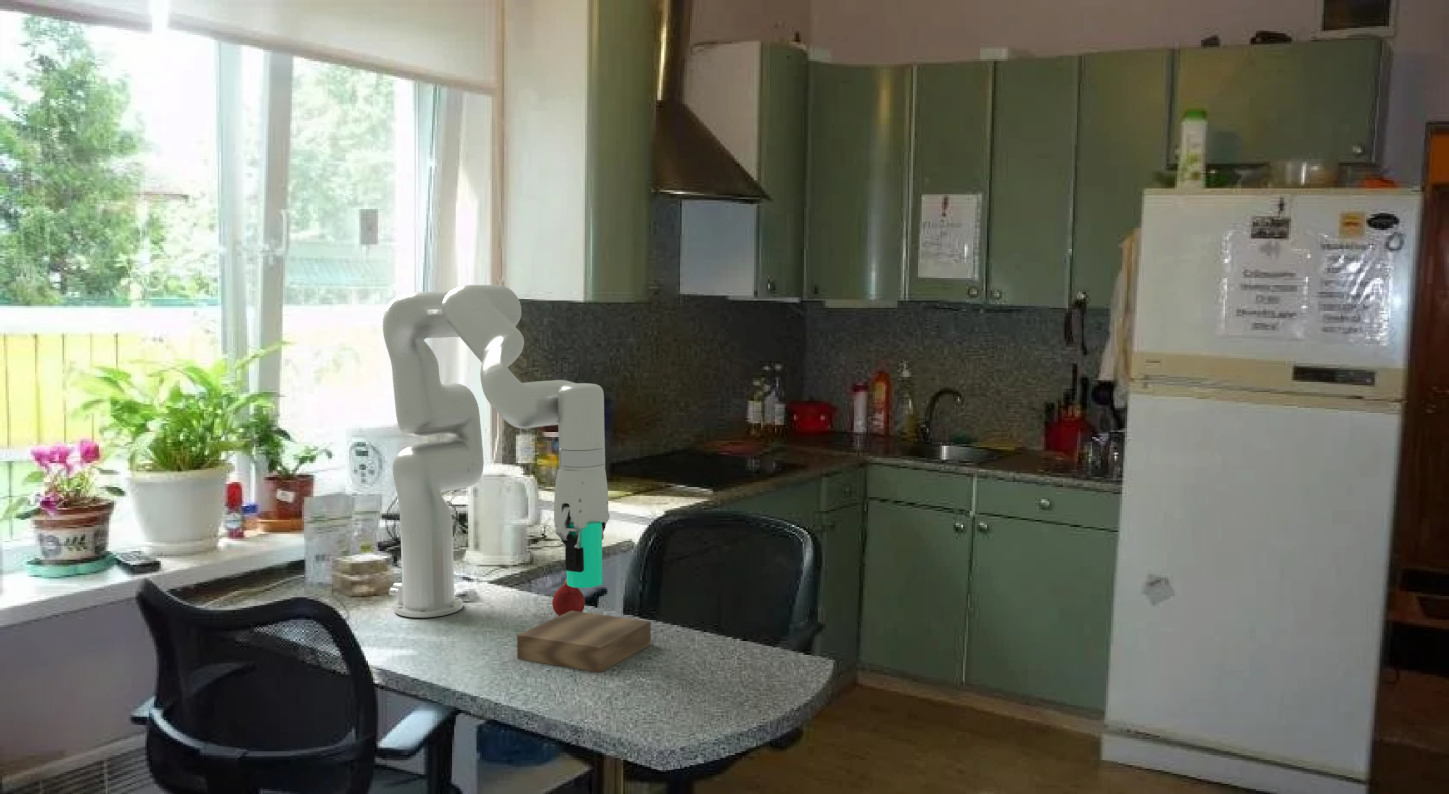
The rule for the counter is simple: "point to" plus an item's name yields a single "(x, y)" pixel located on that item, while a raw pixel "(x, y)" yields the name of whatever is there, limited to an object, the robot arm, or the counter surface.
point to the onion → (568, 600)
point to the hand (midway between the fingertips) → (584, 566)
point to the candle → (589, 558)
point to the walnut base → (584, 640)
